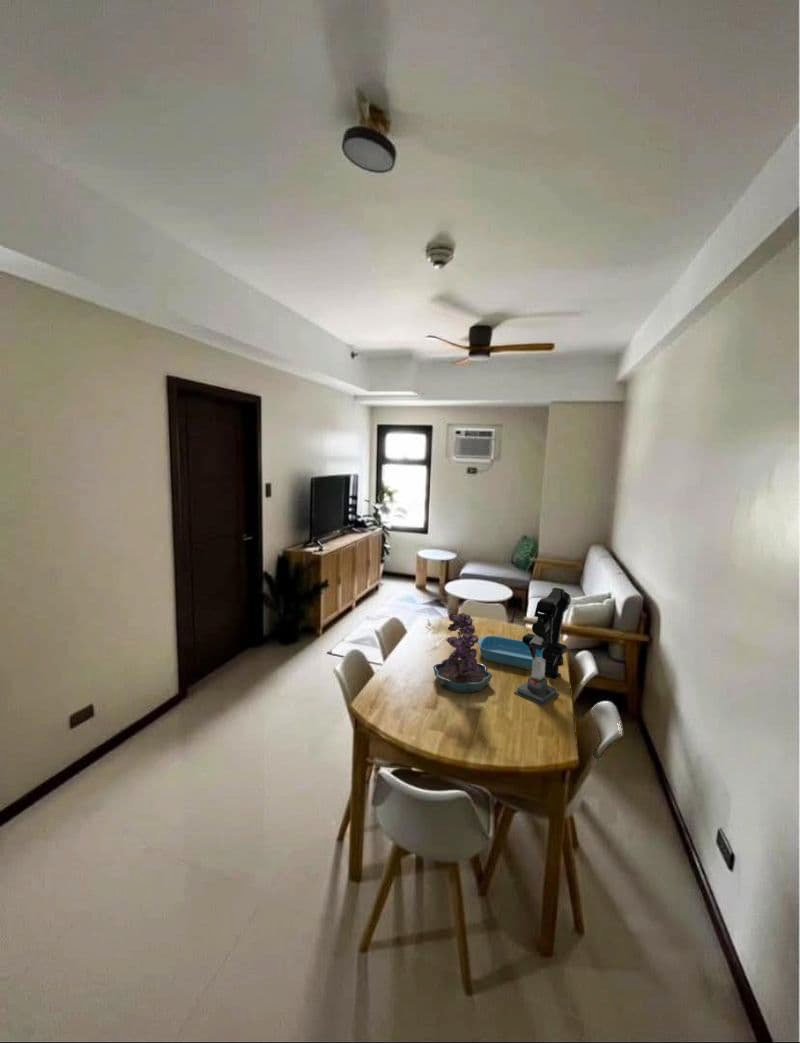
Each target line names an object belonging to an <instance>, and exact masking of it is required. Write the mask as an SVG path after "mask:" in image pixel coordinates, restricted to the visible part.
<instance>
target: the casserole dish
mask: <svg viewBox="0 0 800 1043" xmlns="http://www.w3.org/2000/svg"><path fill="white" fill-rule="evenodd" d="M476 644H477V645H478V646H479V647H478V648H479V649H480V650H479V651H480V654H481V656H482V657H483V658H484V659H485V660H487V661H489V662H492V663H497V664H502V665H506V666H511V667H515V668H520V669H525V670H532V659H533V658H532V655H531V652H530V649H529V647H528V646H527V645H525V643H524V642H522V640H519V639H515V638H514V639H513V638H509V637H505V636H496V635H485V637H481V638H478V642H477V643H476ZM543 649H544V648H543ZM543 649H542V650H538V649H536V654H535V657H540V658H542V652H543Z"/></svg>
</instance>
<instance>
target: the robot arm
mask: <svg viewBox="0 0 800 1043" xmlns="http://www.w3.org/2000/svg"><path fill="white" fill-rule="evenodd" d="M571 602H572V598H571V595H570V594H569V593H568V592H566V591H565V589H564V588H560V587H552V589H551V592H550V593H549V594H548V595H547V597H542V598H541V599H540V600H538V601H537V603H536V608H535V612H534V616H533V617H535V618H537V620H536V621H535V622H534V623H533V624H532V625H531V630H532V632H533V633H527V634H525V635H523V636H522V639H521V641H522V642H524V643H525V645H527V646H528V647H529V649H530V652H531V655H532V658H533V659H534V658H535V654H536V649H538V650H542V649H543V648H544V649H543V652H542V658H543V659H545V660H546V661H545V675H544V676H545V677H548V678H551V679H557V678H559V677H560V676H561V675H562V674H561V672H559V669H560V668H559V667H561V666H564V656H563V655H564V654H566V653H567V652H568V646H567V645H566V644H563V643H561V640H560V639H561V632H562V628H563V620H564V615H565V613H566V612H567V611H568V610H569V607H570V605H571Z"/></svg>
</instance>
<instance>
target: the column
mask: <svg viewBox="0 0 800 1043" xmlns="http://www.w3.org/2000/svg"><path fill="white" fill-rule="evenodd" d="M545 661H546V660H545V659H543V658H540V657H535V658H534V659H532V669H531V673H530V674H531V675H530V677H531V679H533V680H536V681H538V682H541V681H543V680H544V678H546V675H545V671H546V662H545Z"/></svg>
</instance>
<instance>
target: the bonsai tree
mask: <svg viewBox="0 0 800 1043" xmlns="http://www.w3.org/2000/svg"><path fill="white" fill-rule="evenodd" d="M448 619H449V621H450V622H452V623H450V624H449V626H447V630H448V631H450V632H451V633H453V632H456V631H457V636H448V637H447V638H446V642H447V643H448V644H449V645H450V646H451V647H452V648H454V650H453V651H451V652H450V655H448V658H446V659H445V658H444V659H443V660H441V662H440V663H436V664H434V665H433V666H432V668H433V671H434V675H435V678H436V680H437V682H438V684H439V685H441V686H442V687H444V688H446V689H447V690H449V691H453V692H457V693H475V692H478V691H480V690H482V689H483V688H484V687H485V686H486V685H488V684H490V682H491V680H492V677H493V675H492V673H491V672H489V671H488V667H487V665H486V664H484V663H483V664H482V663H480V662H478V659H477V658H476V657H477V653H478V650H477V649H476V648H474V647H475V644H478V643H477V642H478V640H479V637H478V635H476V634H474V633H475V632H476V631H475V630H476V627H475V625H473V622H474V619H473V618H472V617H471V615H470V614H466V613H465V612H460V613H459V614H456V615H453V614H452V613H449V614H448Z"/></svg>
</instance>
